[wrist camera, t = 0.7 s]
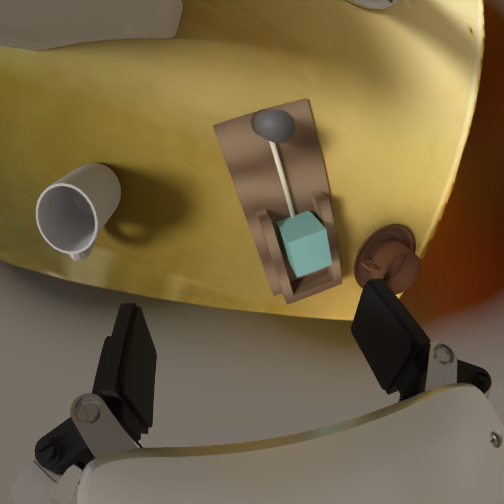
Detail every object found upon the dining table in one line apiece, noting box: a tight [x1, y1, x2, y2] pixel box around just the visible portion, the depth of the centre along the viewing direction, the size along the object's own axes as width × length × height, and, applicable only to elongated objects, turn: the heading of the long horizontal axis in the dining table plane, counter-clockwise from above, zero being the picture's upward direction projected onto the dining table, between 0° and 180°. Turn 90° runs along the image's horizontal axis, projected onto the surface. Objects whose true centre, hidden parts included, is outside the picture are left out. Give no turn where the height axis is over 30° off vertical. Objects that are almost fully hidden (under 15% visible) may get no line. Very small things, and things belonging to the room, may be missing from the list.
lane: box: [213, 99, 342, 305], centre depth 32 cm, size 25×11×3 cm, turn 17°
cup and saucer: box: [354, 224, 420, 295], centre depth 38 cm, size 12×12×6 cm
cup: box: [36, 163, 121, 262], centre depth 25 cm, size 7×10×9 cm
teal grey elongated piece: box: [251, 109, 332, 278], centre depth 29 cm, size 19×4×6 cm, turn 17°
